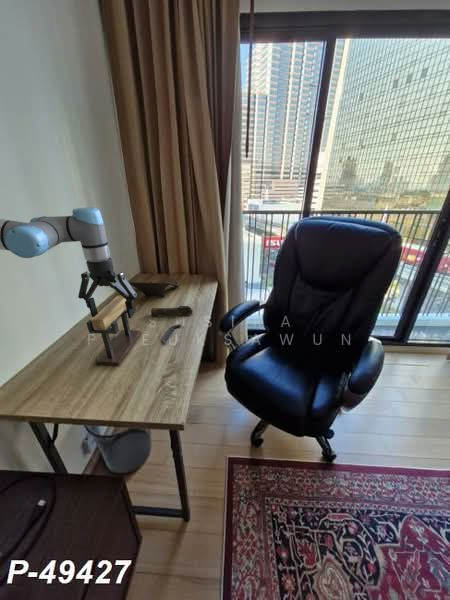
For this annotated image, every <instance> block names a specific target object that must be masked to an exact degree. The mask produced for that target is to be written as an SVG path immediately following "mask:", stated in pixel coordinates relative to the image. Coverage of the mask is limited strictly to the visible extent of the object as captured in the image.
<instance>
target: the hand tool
mask: <svg viewBox="0 0 450 600" xmlns="http://www.w3.org/2000/svg"><path fill="white" fill-rule="evenodd" d="M150 313H151V317H158V316H180V317H185V316H191V315H193V309H192V308H191V307H190V306H189V305H179V306H178V307H157V308H156V307H152V308H151V309H150Z"/></svg>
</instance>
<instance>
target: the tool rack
mask: <svg viewBox="0 0 450 600" xmlns="http://www.w3.org/2000/svg"><path fill="white" fill-rule="evenodd" d="M111 301H112V300H110V301H109V302H108V303H107V305H108V304H109V303H110V302H111ZM133 303H134V308H133V314H135V312H136V311H137V310H136V305H135V304H136V303H135V301H133ZM120 319H121V322H122V327H123V329H122V330H120V328H119V324H118V320H117V321H113V322H112V323H111V327H110V329H109V330H108V331H97V330H94V327H93V324H92V321H91V319H88V320H87V322H86V323H85V324H86V327H87V330H88V333H89V334H100V335H101V339H102V342H103V345H104V348H105V350H104V351H103V352H102V354H101V355H100V356H99V357H98V358H97V359H96V360H95V362H96V365H97V366H113V367H115V366H116V367H119V366H120V365H121V364H122V362H123V361H124V359H125V357H126V356H127V355H128V353H129V352H130V350H132V347H133V346H134V344H135V343H136V342H137V340H138V338H139V337H140V336H141V334H142V332H141V330H135V329H131V328H130V324H129V323H130V322H129V318H128V314H127V310H126V311H125V312H124V313H123V314H122V315H121V316H120ZM110 334H111V335H116V337H115V338H114V339H113V340H112V341H111V337H110Z"/></svg>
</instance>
